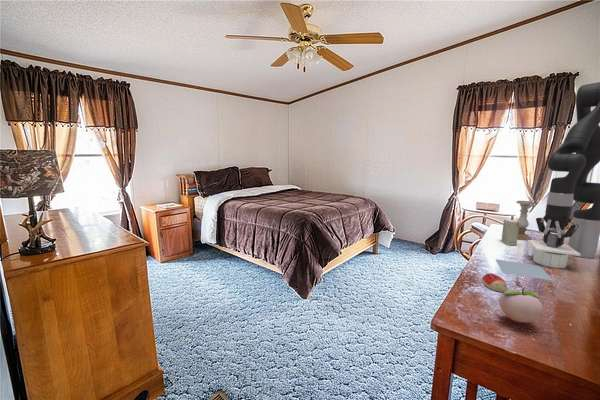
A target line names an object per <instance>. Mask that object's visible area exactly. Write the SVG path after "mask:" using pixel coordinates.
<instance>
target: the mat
mask: <svg viewBox="0 0 600 400" xmlns="http://www.w3.org/2000/svg"><path fill="white" fill-rule="evenodd" d="M494 260H495V261H496V263H497V265H498V267H499V269H500V271H501V272H502V273H504V274H509V275H515V276H521V277H528V278H533V279H538V280H546V281H552V282H554V279H553V278H552V277H551V276H550V275H549V274H548V273H547V272H546V271H545V270H544V269H543V267H542V265H540V264H539V265H538V264H530V263H525V262H516V261H511V260H503V259H499V258H498V259H497V258H495V259H494Z"/></svg>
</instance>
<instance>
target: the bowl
mask: <svg viewBox="0 0 600 400" xmlns="http://www.w3.org/2000/svg"><path fill="white" fill-rule="evenodd" d="M532 260H533V262H534V263H537V265H538V264H539V265H540V266H545V267H550V268H555V269H556V268H557V269H566V268H567V264H568V260H569V255H568V254H560V253H552V252H544V251H537V250H536V249H535V248H534V252H533V258H532Z"/></svg>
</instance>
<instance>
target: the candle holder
mask: <svg viewBox="0 0 600 400" xmlns="http://www.w3.org/2000/svg"><path fill="white" fill-rule="evenodd" d="M515 203H516V204H519V207H520V210H519V212H520V215H519V217H518V219H517V220H516V221H517V222H520V223H519V231H518V238H517V240H519V241H528V240H532V237H531V236H530V235H529V234H527V233H526V231H528V227H530V226H529V225H530V224H529V221H528V213H529V208H530V207H531V205H532V206H533V205H535V202H534V201H528V200H516V202H515Z"/></svg>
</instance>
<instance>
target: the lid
mask: <svg viewBox="0 0 600 400" xmlns="http://www.w3.org/2000/svg"><path fill="white" fill-rule="evenodd" d="M557 238H558V233H557V234H556V233H552V232H551V233H549V234H548V238H547V244H546V243H544V241H543V240H533V239H530V240H526V241H527V242H528V244H530V246H532V248H534V250H535V249H536V250H537V251H544V252H552V253H560V254H568V256H574V255H576V257H578V256H581V254H580V253H578V252H577V251H576V250H574V249H573V248H571V247H570V246H568V243H563V245H562V246H560V247H558V246H556V242H557Z"/></svg>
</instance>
